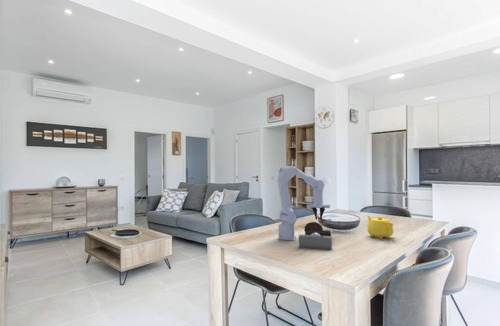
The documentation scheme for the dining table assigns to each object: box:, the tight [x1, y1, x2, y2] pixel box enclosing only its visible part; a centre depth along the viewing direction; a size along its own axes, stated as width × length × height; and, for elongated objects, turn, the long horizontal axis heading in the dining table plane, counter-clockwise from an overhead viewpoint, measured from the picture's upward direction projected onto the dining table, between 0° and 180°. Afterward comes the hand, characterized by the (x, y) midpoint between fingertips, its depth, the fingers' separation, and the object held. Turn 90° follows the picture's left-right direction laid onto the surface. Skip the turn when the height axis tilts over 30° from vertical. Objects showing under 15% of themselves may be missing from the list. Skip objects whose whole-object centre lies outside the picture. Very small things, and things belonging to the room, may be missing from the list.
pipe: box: [304, 221, 332, 236], centre depth 163 cm, size 10×15×15 cm
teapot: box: [366, 214, 394, 240], centre depth 168 cm, size 13×20×12 cm
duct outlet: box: [298, 233, 333, 250], centre depth 148 cm, size 17×5×7 cm, turn 73°
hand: (318, 219), depth 178 cm, fingers open, 2 cm apart
